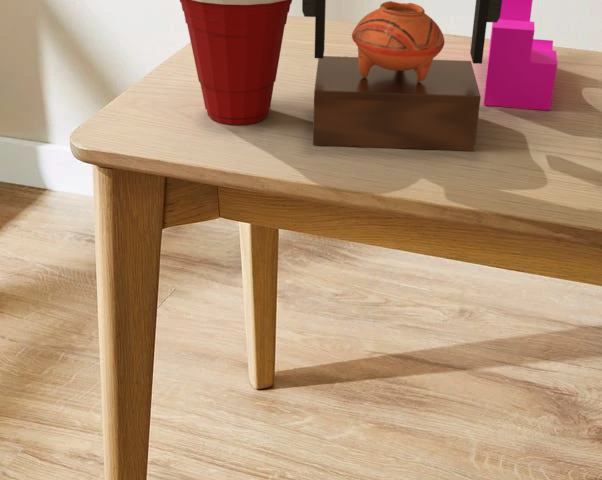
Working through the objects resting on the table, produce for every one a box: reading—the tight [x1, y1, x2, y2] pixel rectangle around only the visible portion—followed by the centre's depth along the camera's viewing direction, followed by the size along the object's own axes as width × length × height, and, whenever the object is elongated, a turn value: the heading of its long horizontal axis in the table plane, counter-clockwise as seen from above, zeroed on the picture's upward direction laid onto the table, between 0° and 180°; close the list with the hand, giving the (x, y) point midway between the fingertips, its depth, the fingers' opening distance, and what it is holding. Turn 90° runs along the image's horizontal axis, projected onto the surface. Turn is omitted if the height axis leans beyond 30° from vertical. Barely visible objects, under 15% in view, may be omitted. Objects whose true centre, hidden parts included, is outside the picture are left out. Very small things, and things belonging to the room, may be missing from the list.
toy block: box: [483, 0, 558, 111], centre depth 97 cm, size 15×6×8 cm, turn 169°
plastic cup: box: [179, 0, 293, 125], centre depth 88 cm, size 11×11×12 cm
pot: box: [351, 0, 445, 82], centre depth 84 cm, size 8×8×7 cm
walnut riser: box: [312, 55, 482, 152], centre depth 87 cm, size 14×9×5 cm, turn 87°
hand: (397, 56), depth 85 cm, fingers open, 13 cm apart
